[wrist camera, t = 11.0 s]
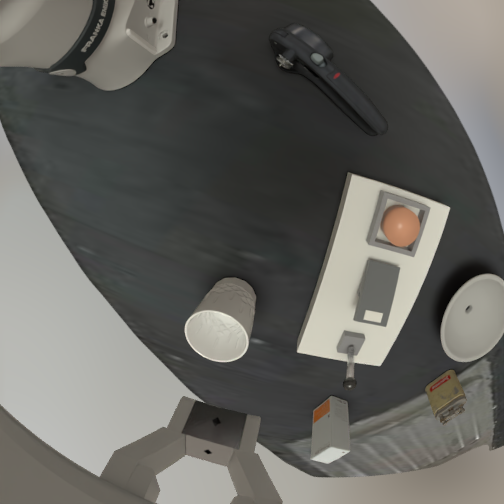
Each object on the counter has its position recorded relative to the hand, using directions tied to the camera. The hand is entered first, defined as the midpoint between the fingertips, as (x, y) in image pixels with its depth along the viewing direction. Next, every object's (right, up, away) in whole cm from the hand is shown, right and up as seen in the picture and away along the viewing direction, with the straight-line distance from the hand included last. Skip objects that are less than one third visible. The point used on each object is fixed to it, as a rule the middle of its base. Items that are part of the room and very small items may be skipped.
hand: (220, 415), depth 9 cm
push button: (+19, +10, +21) cm, 30 cm away
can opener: (+11, +27, +20) cm, 35 cm away
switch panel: (+17, +3, +27) cm, 33 cm away
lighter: (+38, -19, +32) cm, 54 cm away
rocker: (+17, +1, +23) cm, 29 cm away
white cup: (-1, 0, +32) cm, 32 cm away
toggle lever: (+15, -7, +27) cm, 32 cm away
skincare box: (+16, -24, +38) cm, 48 cm away
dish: (+37, -3, +26) cm, 45 cm away
